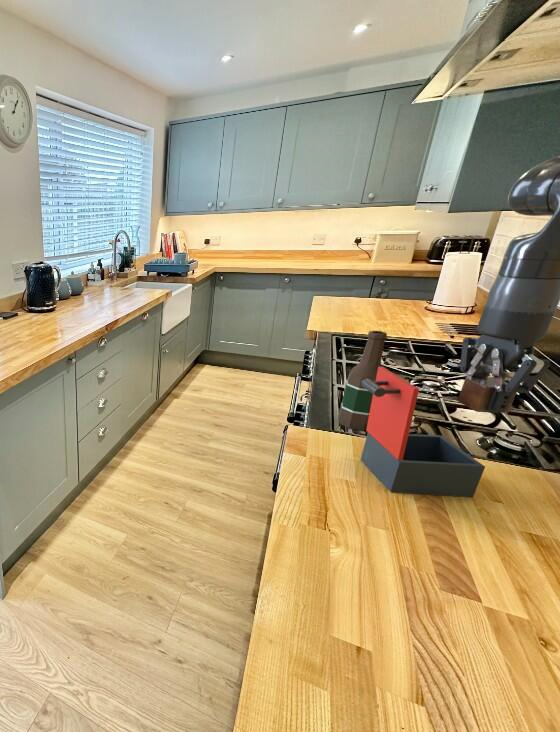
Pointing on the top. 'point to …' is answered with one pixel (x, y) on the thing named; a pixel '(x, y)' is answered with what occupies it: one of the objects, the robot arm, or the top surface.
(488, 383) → the block
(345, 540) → the top surface
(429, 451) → the food box
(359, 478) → the top surface
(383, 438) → the lid
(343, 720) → the top surface
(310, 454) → the top surface
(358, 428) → the beer bottle
